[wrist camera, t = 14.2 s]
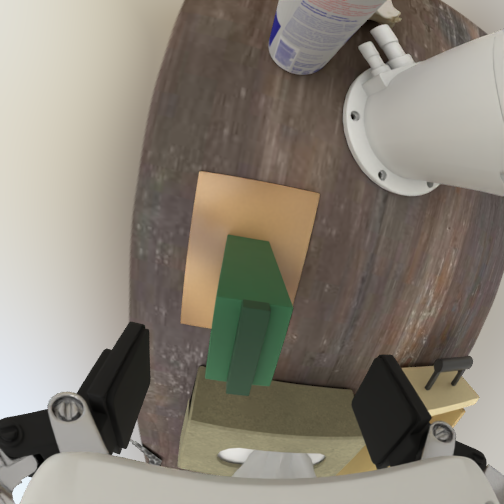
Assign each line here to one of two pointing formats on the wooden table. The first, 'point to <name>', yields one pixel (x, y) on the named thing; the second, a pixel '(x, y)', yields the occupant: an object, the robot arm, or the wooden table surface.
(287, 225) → the cork mat
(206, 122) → the wooden table surface
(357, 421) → the robot arm
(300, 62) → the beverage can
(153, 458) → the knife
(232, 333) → the green ridged block
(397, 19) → the bone
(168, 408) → the wooden table surface
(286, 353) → the wooden table surface
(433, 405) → the drawer
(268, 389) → the tissue box
